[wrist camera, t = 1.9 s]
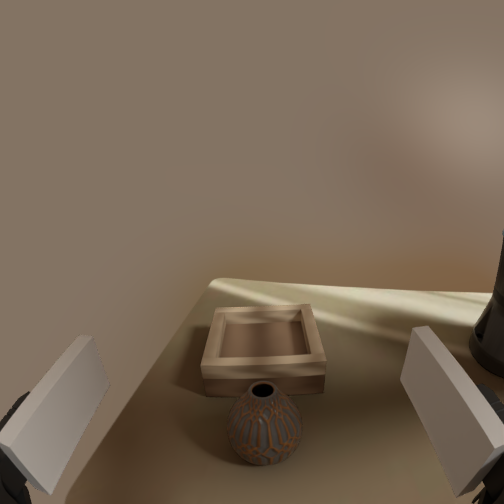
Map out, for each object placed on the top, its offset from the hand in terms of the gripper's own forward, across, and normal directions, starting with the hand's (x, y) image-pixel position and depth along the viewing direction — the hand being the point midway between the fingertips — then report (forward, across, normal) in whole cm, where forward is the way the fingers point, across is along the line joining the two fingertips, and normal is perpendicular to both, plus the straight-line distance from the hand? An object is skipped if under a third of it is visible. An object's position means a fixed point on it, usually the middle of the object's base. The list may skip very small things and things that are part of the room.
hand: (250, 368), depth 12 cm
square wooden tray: (+25, 0, -19) cm, 31 cm away
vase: (+10, 0, -19) cm, 22 cm away
